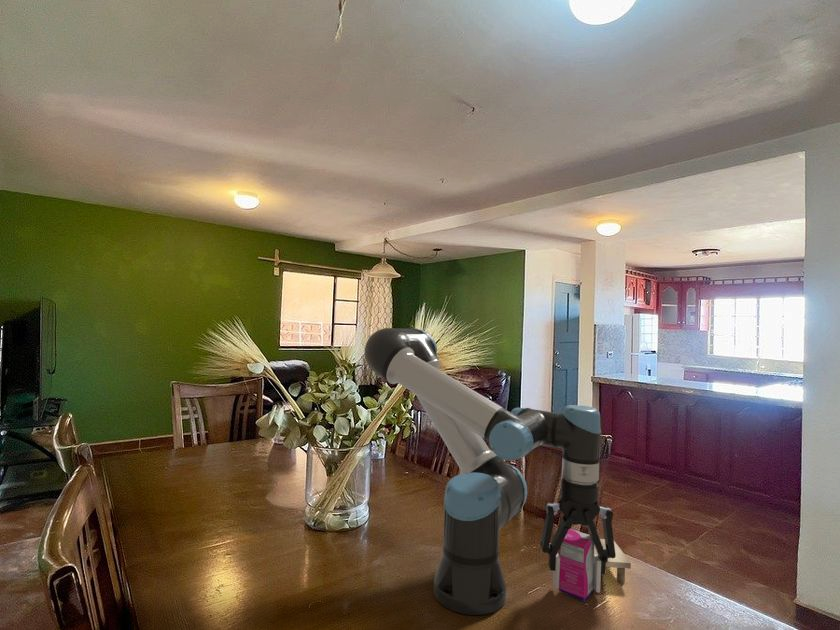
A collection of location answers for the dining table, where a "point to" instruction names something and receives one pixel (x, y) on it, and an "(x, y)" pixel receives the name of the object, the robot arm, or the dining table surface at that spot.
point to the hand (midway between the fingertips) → (575, 586)
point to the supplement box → (577, 565)
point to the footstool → (617, 562)
